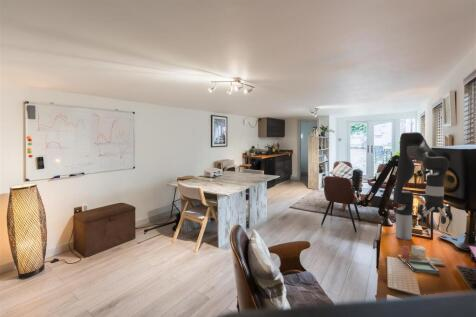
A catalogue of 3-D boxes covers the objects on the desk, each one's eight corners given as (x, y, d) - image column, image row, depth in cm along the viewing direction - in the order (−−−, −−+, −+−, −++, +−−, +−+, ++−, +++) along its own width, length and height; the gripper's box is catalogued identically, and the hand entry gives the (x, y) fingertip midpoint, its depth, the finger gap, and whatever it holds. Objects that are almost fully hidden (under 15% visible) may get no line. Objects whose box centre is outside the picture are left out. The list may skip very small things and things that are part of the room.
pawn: (399, 256, 135) (400, 243, 134) (407, 256, 134) (407, 244, 133) (402, 259, 131) (403, 246, 130) (410, 260, 130) (411, 247, 129)
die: (411, 253, 140) (411, 245, 139) (421, 254, 138) (421, 245, 138) (415, 257, 135) (415, 248, 134) (425, 258, 133) (425, 249, 133)
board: (397, 256, 136) (397, 254, 136) (437, 259, 131) (437, 258, 131) (402, 262, 129) (403, 260, 129) (445, 266, 124) (445, 264, 124)
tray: (406, 263, 129) (406, 259, 128) (429, 265, 126) (429, 261, 126) (414, 271, 120) (414, 268, 120) (439, 274, 117) (439, 270, 117)
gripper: (445, 192, 125) (444, 221, 126) (415, 191, 129) (414, 220, 130) (455, 196, 118) (453, 226, 119) (422, 195, 121) (421, 224, 123)
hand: (433, 223), depth 125 cm, fingers open, 8 cm apart
